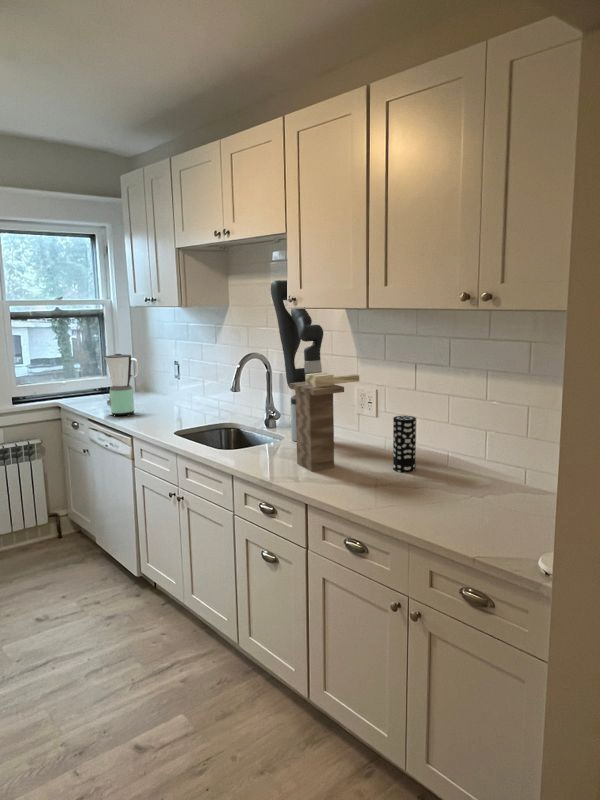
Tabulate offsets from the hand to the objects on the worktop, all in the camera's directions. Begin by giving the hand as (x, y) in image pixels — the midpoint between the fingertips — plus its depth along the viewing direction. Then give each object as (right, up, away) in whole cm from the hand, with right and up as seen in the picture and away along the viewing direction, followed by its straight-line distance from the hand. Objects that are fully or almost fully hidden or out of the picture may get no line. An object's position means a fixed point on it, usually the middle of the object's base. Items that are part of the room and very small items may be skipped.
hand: (315, 407), depth 262 cm
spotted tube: (+33, -23, -34) cm, 53 cm away
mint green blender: (-108, -5, +84) cm, 137 cm away
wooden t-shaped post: (0, -22, -26) cm, 35 cm away
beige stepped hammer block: (+7, +10, -29) cm, 31 cm away
